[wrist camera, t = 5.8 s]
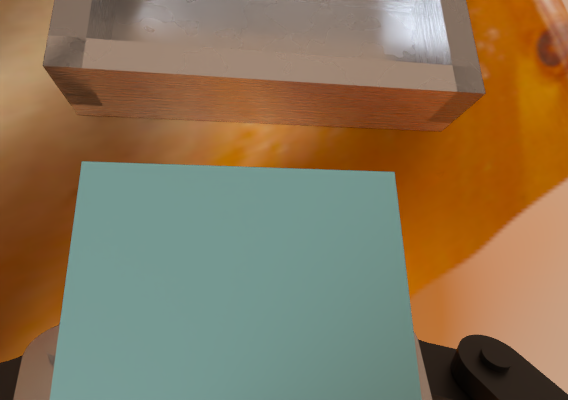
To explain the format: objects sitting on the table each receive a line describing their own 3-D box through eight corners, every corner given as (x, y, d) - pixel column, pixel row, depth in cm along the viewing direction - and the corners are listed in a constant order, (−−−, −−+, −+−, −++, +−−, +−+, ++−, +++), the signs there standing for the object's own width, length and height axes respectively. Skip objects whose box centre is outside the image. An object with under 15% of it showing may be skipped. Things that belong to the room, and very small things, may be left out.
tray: (77, 114, 19) (42, 65, 16) (97, -24, 22) (71, -95, 18) (441, 131, 23) (485, 93, 19) (420, 7, 25) (455, -48, 21)
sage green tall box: (174, 377, 15) (26, 573, 3) (179, 272, 16) (82, 160, 5) (276, 372, 15) (435, 522, 4) (274, 271, 17) (394, 171, 5)
